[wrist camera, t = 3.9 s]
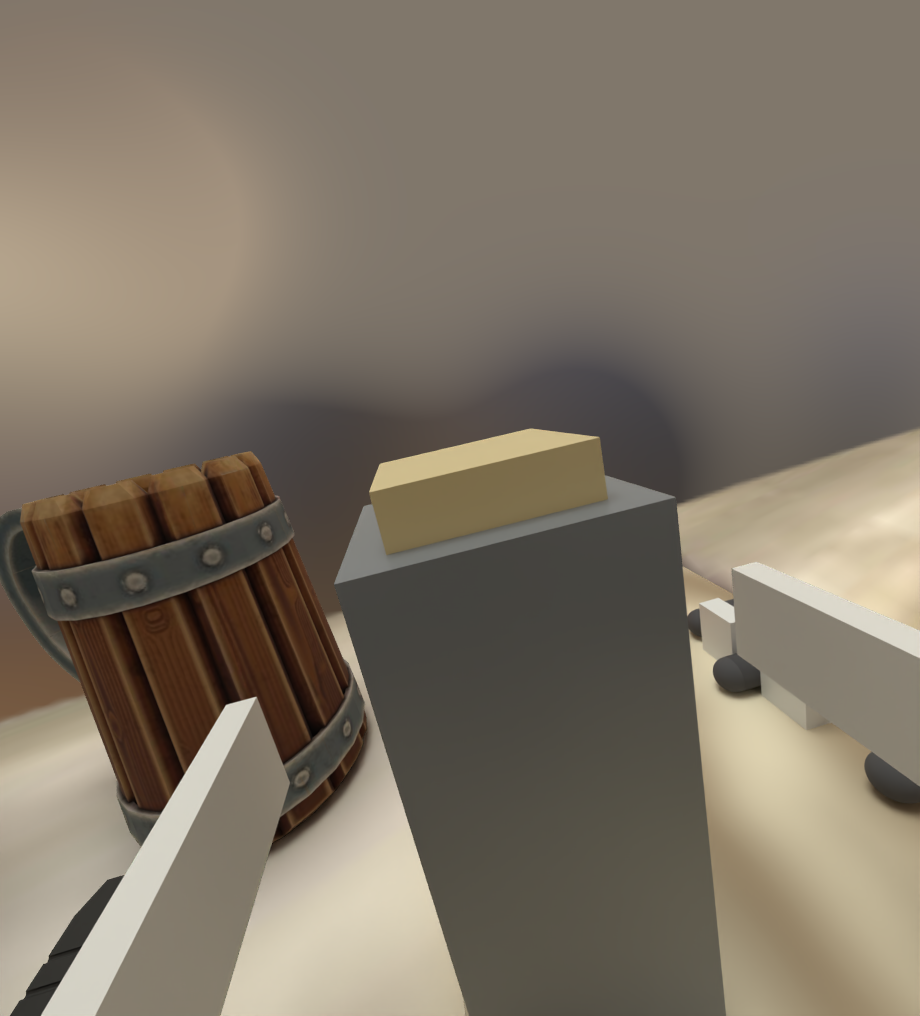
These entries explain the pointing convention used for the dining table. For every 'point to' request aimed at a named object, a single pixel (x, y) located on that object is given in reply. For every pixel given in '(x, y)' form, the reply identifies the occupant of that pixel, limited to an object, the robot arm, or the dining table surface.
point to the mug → (185, 626)
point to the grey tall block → (541, 723)
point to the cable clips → (722, 643)
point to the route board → (802, 859)
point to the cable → (744, 676)
